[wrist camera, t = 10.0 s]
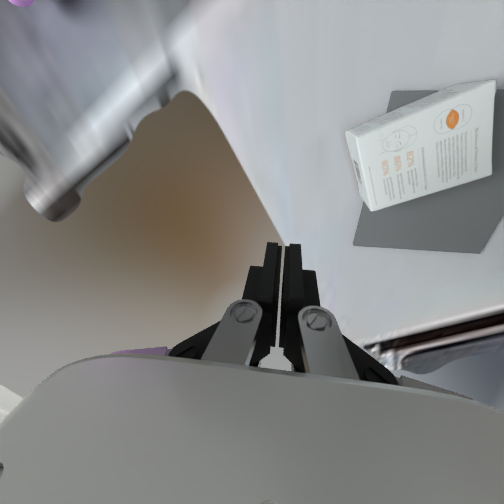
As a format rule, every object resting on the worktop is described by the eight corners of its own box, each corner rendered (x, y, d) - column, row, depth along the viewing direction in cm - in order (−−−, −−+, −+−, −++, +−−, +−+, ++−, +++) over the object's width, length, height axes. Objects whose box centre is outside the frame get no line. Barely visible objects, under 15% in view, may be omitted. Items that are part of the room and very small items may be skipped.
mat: (391, 91, 24) (394, 91, 24) (572, 89, 22) (579, 88, 22) (352, 243, 34) (353, 245, 33) (476, 251, 32) (479, 253, 31)
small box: (358, 196, 30) (458, 163, 26) (370, 213, 25) (494, 176, 22) (343, 129, 26) (457, 82, 23) (354, 135, 21) (500, 76, 18)
